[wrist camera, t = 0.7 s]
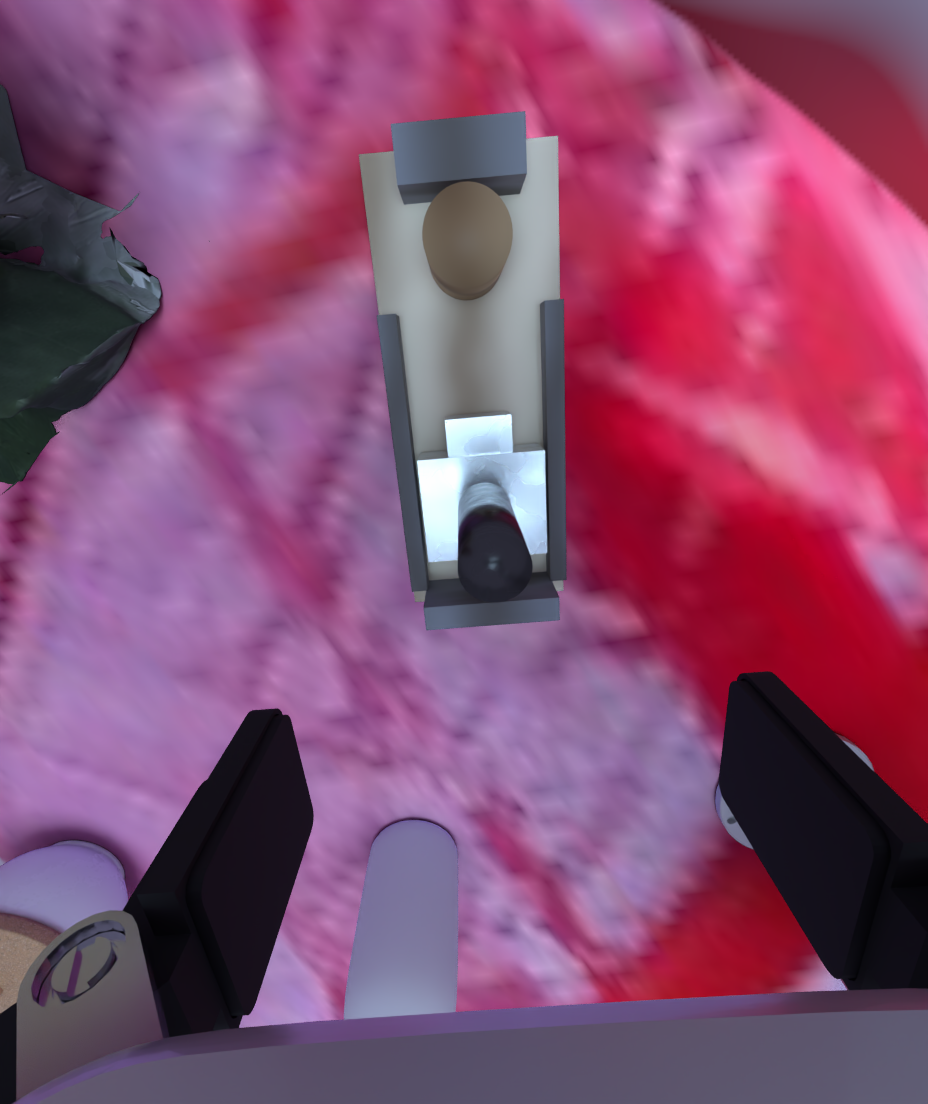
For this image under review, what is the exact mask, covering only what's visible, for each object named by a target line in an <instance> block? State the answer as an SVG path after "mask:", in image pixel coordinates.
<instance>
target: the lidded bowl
mask: <svg viewBox="0 0 928 1104" xmlns="http://www.w3.org/2000/svg"><path fill="white" fill-rule="evenodd" d="M124 879H125V873H124V869H123V866H122V864H121V863H120V861H119V860H118V859H117V858H116V857H115V856H114V855H113V854H112V853H111V852H109V851H108V850H106V849H105V848H103V847H101V846H98V845H96V844H93V843H90V842H86V841H80V840H67V841H61V842H58V843H55V844H53V845H52V846H49V847H43V848H40V849H36V850H33V851H30V852H27V853H24V854H22V855H20V856H18V857H15V858H14V859H12V860H10V861H8V862H6V863H5V864H3V865H1V866H0V1013H2V1012H3V1011H5V1010H6V1009H8V1008H9V1007H10V1006H12V1005H13V1004H15V1003H16V1002H17V997H18V992H19V988H20V984H21V982H22V980H23V978H24V976H25V974H26V973H27V971H28V969H29V967H30V966H31V965H32V963H33V962H34V961H35V959H36V958H37V957H38V956H39V954H40V953H41V952H42V951H43V950H44V949H45V948H46V947H47V946H48V945H49V944H50V943H51V942H52V941H53V940H54V939H55V938H56V937H57V936H59V935H60V934H61V933H63V932H64V931H66V930H67V929H68V928H70V927H71V926H73V925H74V924H76V923H77V922H79V921H81V920H83V919H86V918H88V917H90V916H92V915H94V914H98V913H101V912H105V911H109V910H117V911H122V910H123V909H124V907H125V905H126V904H127V902H128V894H127V889H126V884H125V881H124Z"/></svg>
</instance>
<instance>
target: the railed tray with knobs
mask: <svg viewBox="0 0 928 1104" xmlns="http://www.w3.org/2000/svg"><path fill="white" fill-rule="evenodd" d="M391 131H392V140H393V150H394V151H391V152H380V153H370V154H359V160H360V168H361V176H362V184H363V192H364V200H365V208H366V216H367V224H368V232H369V239H370V247H371V255H372V263H373V271H374V279H375V287H376V295H377V303H378V311H379V315H377V321H378V329H379V337H380V344H381V352H382V360H383V368H384V376H385V384H386V392H387V399H388V407H389V415H390V423H391V431H392V439H393V446H394V454H395V462H396V470H397V478H398V486H399V494H400V501H401V509H402V517H403V525H404V533H405V541H406V549H407V556H408V564H409V572H410V580H411V588H412V592H414V597H415V602H422V601H425V602H424V615H425V623H426V630H436V629H449V628H462V627H475V626H489V625H502V624H515V623H529V622H542V621H555V620H560V614H559V596H558V593H557V591H563V580H566V485H565V380H564V299H560V271H559V188H558V136H552V137H541V138H530V139H526V120H525V111H523V112H513V113H502V114H492V115H481V116H470V117H460V118H449V119H439V120H428V121H417V122H407V123H396V124H391ZM467 181H470V182H477V183H480V184H483V185H485V186H487V187H489V188H490V189H492V190H493V191H494V192H495V193H496V194H498V196H499V197H500V198H501V199H502V201H503V202H504V204H505V205H506V207H507V209H508V211H509V214H510V217H511V222H512V228H513V239H512V246H511V250H510V253H509V256H508V258H507V261H506V263H505V265H504V268H503V270H502V272H501V275H500V277H499V279H498V281H497V283H496V284H495V286H494V287H493V288H492V289H491V290H490V291H489V292H488V293H487V294H485V295H484V296H482V297H480V298H477V299H474V300H459V299H455V298H453V297H450V296H449V295H447V294H446V293H445V292H443V291H442V290H441V289H440V288H439V286H438V285H437V284H436V282H435V280H434V279H433V276H432V274H431V271H430V267H429V264H428V260H427V257H426V253H425V250H424V246H423V240H422V229H423V222H424V217H425V214H426V212H427V209H428V207H429V205H430V204H431V202H432V201H433V199H434V198H435V197H436V196H437V195H438V194H439V193H440V192H441V191H442V190H443V189H445V188H446V187H448V186H450V185H452V184H455V183H458V182H467ZM498 411H508V412H509V413H510V414H511V419H512V441H513V445H518V444H530V443H538V444H539V445H540V446H541V447H542V448H543V449H544V450H545V477H546V520H547V553H542V554H530V555H531V559H532V565H533V569H532V575H531V578H530V581H529V583H528V584H527V586H526V587H525V589H524V590H523V591H522V592H521V593H520V594H518V595H517V596H515V597H514V598H512V599H509V600H507V601H503V602H494V603H492V602H485V601H482V600H479V599H477V598H475V597H473V596H472V595H470V594H469V593H468V592H467V591H466V590H465V589H464V587H463V586H462V584H461V582H460V579H459V576H458V560H452V561H439V562H428V553H427V544H426V535H425V526H424V518H423V509H422V500H421V491H420V482H419V473H418V464H417V460H418V458H419V455H420V453H421V452H432V451H445V450H448V449H447V438H446V427H445V417H446V416H450V415H462V414H474V413H486V412H498Z"/></svg>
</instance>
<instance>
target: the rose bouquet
mask: <svg viewBox="0 0 928 1104" xmlns="http://www.w3.org/2000/svg"><path fill="white" fill-rule="evenodd" d="M139 193H140V192H139ZM139 193H138V194H139ZM138 194H137V195H136V196H135V197H134V198H133V199H132V200H131V201H130V202H129V203H128V204H127V205H126V206H125V207H124V208H123V209H122V210H121V211H117V210H115V209H112V208H110V207H107V206H105V205H102V204H100V203H97V202H95V201H92V200H90V199H87V198H85V197H82V196H80V195H77V194H75V193H73V192H71V191H69V190H67V189H64V188H62V187H60V186H58V185H56V184H54V183H52V182H50V181H48V180H46V179H44V178H42V177H40V176H38V175H36V174H34V173H32V172H30V171H28V170H26V168H25V164H24V160H23V156H22V152H21V148H20V144H19V140H18V136H17V132H16V128H15V124H14V120H13V116H12V112H11V108H10V104H9V100H8V96H7V92H6V89H5V88H4V87H3V86H2V85H0V252H1V253H2V254H4V255H7V254H10V253H13V252H18V251H19V250H22V249H25V248H28V247H31V246H35V247H36V246H41V247H42V248H43V250H44V254H43V255H42V257H41V264H40V265H39V266H38V265H37V264H35V263H29V262H23V261H21V260H17V259H3V258H0V482H4V483H7V484H13V485H12V486H14V485H15V484H16V483H17V482H18V481H20V482H21V481H22V480H23V478H24V477H25V475H26V473H27V471H28V470H29V468H30V467H31V465H32V464H33V463H34V461H35V460H36V458H37V456H38V455H39V454H40V452H41V451H42V450H43V448H44V447H45V446H46V444H47V443H48V442H49V440H50V439H51V438H52V437H54V436H55V435H56V434H58V433H59V432H60V431H59V432H58V433H56V432H55V429H54V427H53V425H52V423H51V422H54V421H57V420H58V419H59V417H60V416H62V415H63V414H65V413H67V412H68V411H70V410H73V409H77V408H79V407H81V406H83V405H85V404H86V403H87V402H89V401H90V400H91V399H92V398H93V397H94V396H95V395H96V394H97V393H98V391H99V390H100V389H101V388H102V386H103V385H104V384H106V383H107V382H108V381H109V380H110V379H111V378H112V377H113V376H114V375H115V373H116V372H117V371H118V369H119V368H120V366H121V364H122V363H123V362H124V360H125V357H126V355H127V353H128V351H129V348H130V344H131V342H132V340H133V338H134V336H135V334H136V332H137V329H138V327H139V325H140V324H144V322H145V321H147V320H149V319H150V318H151V317H152V316H153V314H154V313H155V312H156V311H157V310H158V308H159V306H160V304H159V299H160V298H161V289H160V284H159V281H158V278H156V277H154V276H153V275H151V274H149V273H148V272H147V268H146V266H145V265H144V263H142V262H141V261H139V260H137V259H136V258H134V257H132V256H131V255H130V254H129V252H128V250H127V249H126V248H125V247H124V246H123V245H122V244H121V243H120V242H119V241H118V240H117V239H116V238H115V236H114V234H113V232H112V230H111V229H110V231H111V236H109V237H105V238H104V239H102V238H101V237H100V236H101V233H102V230H101V228H102V223H103V222H104V221H106V220H108V219H110V218H112V217H114V216H116V215H117V214H119V213H120V212H122V211H123V210H125V209H126V208H128V207H130V206H131V205H132V203H133V202H134V200H135V199H136V197H137V196H138ZM209 242H210V241H209ZM12 486H11V487H12ZM11 487H9V488H8V489H7V490H9V489H10V488H11ZM7 490H6V491H7ZM6 491H5V492H6ZM5 492H4V493H5ZM1 495H2V494H1Z"/></svg>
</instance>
